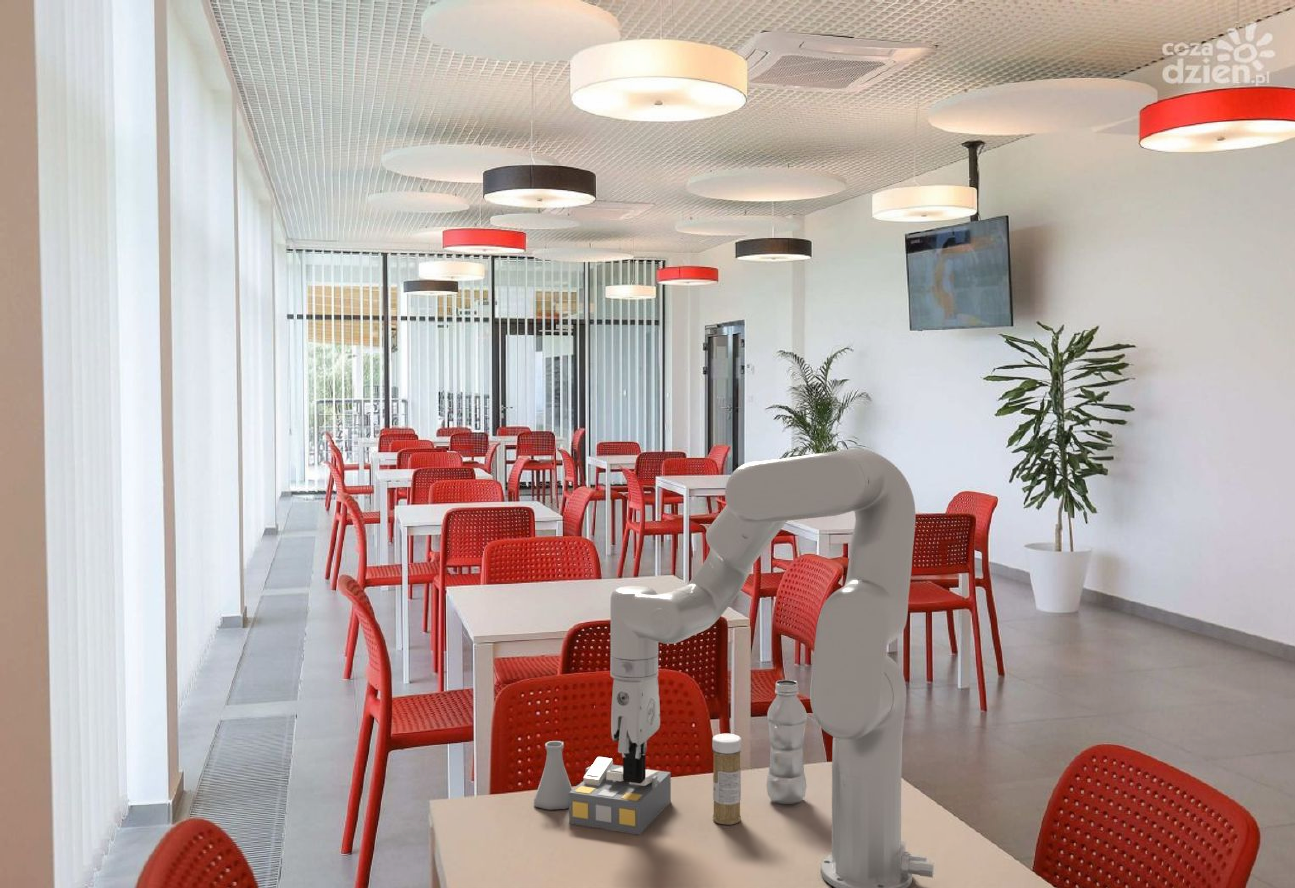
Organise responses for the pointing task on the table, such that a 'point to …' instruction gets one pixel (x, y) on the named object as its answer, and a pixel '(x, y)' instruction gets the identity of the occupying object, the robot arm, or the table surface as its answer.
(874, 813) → the robot arm
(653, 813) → the console
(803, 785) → the plastic bottle
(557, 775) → the flask
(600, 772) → the switch
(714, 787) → the sprinkles bottle
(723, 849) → the table surface
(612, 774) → the switch
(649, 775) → the switch
